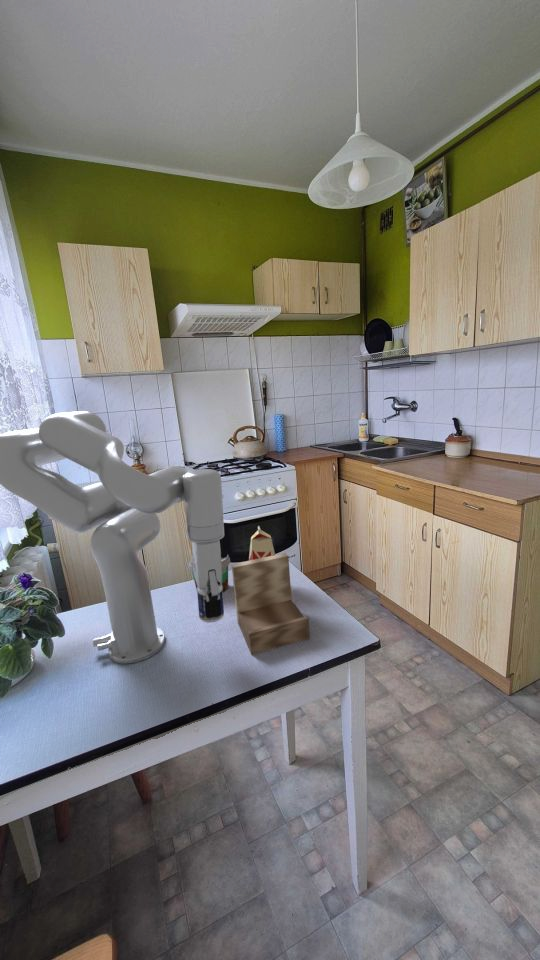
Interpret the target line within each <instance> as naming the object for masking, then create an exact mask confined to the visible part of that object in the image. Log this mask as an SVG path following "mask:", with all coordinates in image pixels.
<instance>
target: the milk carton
mask: <svg viewBox="0 0 540 960" xmlns="http://www.w3.org/2000/svg"><path fill="white" fill-rule="evenodd" d="M248 555H249V556H248V561H250V560H255V559H259V558H264V557H269V556H274V555H276V553H275V548H274V544H273V540H272V537H271V535H270V534H268V533H267V532H265V531H263V530H262V529H261V527H260V525H258V526H257V530H256V532H255V533H254V534H253V535H252V536H251V537H250V545H249V554H248Z"/></svg>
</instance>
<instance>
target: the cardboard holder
mask: <svg viewBox="0 0 540 960" xmlns="http://www.w3.org/2000/svg"><path fill="white" fill-rule="evenodd" d="M289 560H290V559H289V555H288V554H287V553H286V552H285V553H280V554H275V555H274V556H269V557H264V558H259V559H255V560H250V561H249V560H246V561H241V562H236V563H232V564H231V563H230V564H231V573H232V582H233V584H232V585H233V590H234V592H233V593H234V602H235V610H236V617H237V619H236V621H237V625H238V627H239V629H240V633H241V634H242V637H243V639H244V641H245V643H246V645H247V648H248V650H249V653H250V655H251V656H253V655H256V654H259V653H263V652H266V651H270V650H274V649H277V648H280V647H281V648H282V647H283V646H288V645H292V644H295V643H299V642H302V641H305V640H309V639H311V632H310V619H309V617H308V615H306V616H304V614H303V613H302V612H301V610H300V609H299V607H298V606H297V605H296V603H295V602H294V601H293V599H292V588H291V587H292V585H291V575H290V561H289Z"/></svg>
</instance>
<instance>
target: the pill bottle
mask: <svg viewBox="0 0 540 960" xmlns="http://www.w3.org/2000/svg"><path fill="white" fill-rule="evenodd" d="M207 585H210V583H207ZM210 592H211V589H208V594H209V593H210ZM196 593H197V606H198V617H199V620H200V621H202V622H203V623H204V622H205V623H215V622H218V621H219V620H222V618H224V613H225V609H224V607H225V606H224V593H223V587H222V585H221V586H219V595H220V601H221V615H220V616H216V617H211V618H206V614H205V600H206V596H205V589H202V590H200V589H199V588H198V587H197V589H196Z"/></svg>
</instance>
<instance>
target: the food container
mask: <svg viewBox="0 0 540 960" xmlns="http://www.w3.org/2000/svg"><path fill="white" fill-rule="evenodd" d="M221 564H222V587H223V594H224V593H225V592H227V591H228V589H229V565H230V564H231V558H230V556H229V555H227V556H224V557H221ZM188 569H189V570H190V572H191V573H192V576H193V577H192V578H193V582H194V584H195V589H196V590H197V587H198V586H197V583H196V580H195V576H194V571H193V562H191V561H189V562H188Z"/></svg>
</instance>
